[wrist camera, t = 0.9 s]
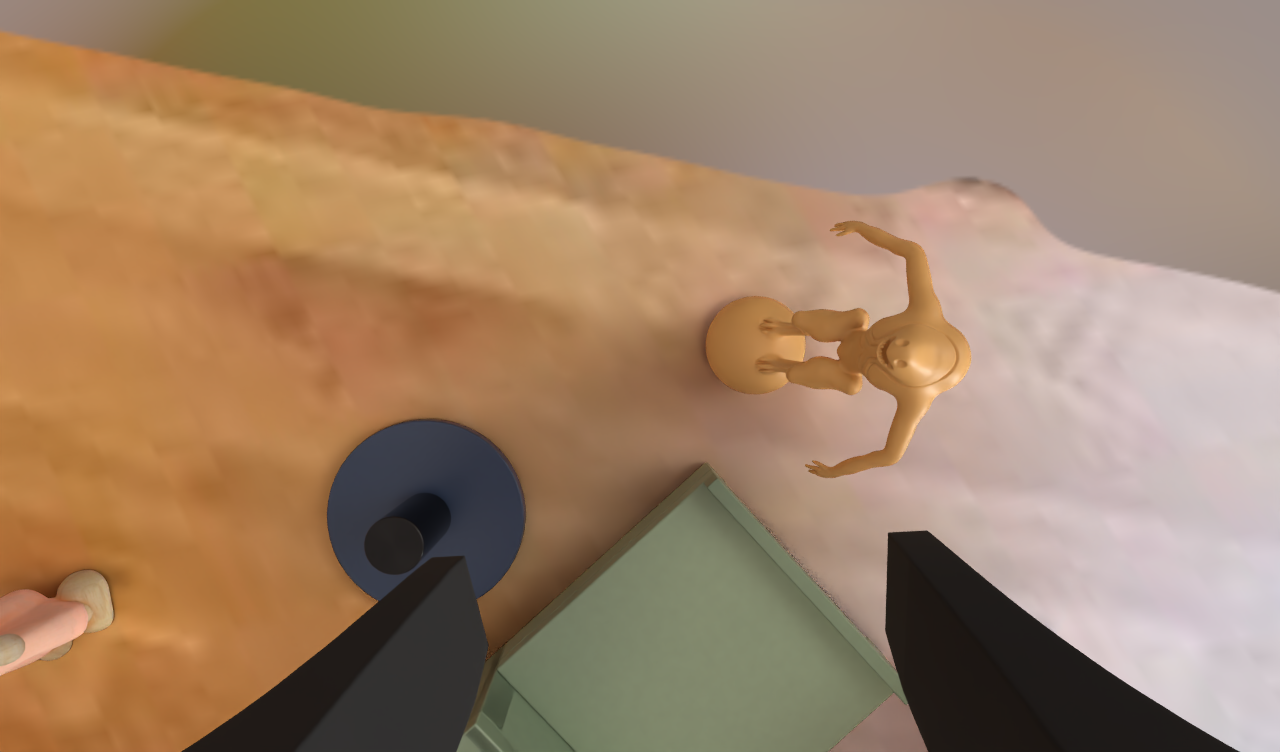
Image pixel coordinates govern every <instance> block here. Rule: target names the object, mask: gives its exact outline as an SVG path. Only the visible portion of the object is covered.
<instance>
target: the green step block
mask: <svg viewBox="0 0 1280 752" xmlns="http://www.w3.org/2000/svg"><path fill="white" fill-rule="evenodd" d="M893 693H895V694H896V695H897V696H898V697H899V698H900V699H901V701H902V702H903V703H904V704H906V705H907V704H908V702H907V700H906V697H905V695H904V692H903V689H902V686H901V683H900V679H899V676H898V673H897V671H896V670H895V669H894V667H893V666H892V665H891V664H890V663H889V661H888V660H887V659H886V658H885V657H884V655H883V654H882V653H881V652H880V651H879V650H878V649H877V648H876V647H875V645H874V644H873V643H872V642H871V641H870V640H869V639H868V638H867V637H865V636H864V635H863V634H862V633H861V632H860V631H859V630H858V628H857V627H856V626H855V625H854V624H853V623H852V622H851V621H850V620H849V619H848V618H847V616H846V615H845V614H844V613H843V612H842V611H841V610H840V609H839V608H838V607H837V605H836V604H835V603H834V602H833V601H832V600H831V599H830V598H829V597H828V596H827V595H826V593H825V592H824V591H823V590H822V589H821V588H820V587H819V586H818V585H817V584H816V583H815V581H814V580H813V579H812V578H811V577H810V576H809V575H808V574H807V573H806V572H805V570H804V569H803V568H802V567H801V566H800V565H799V564H798V563H797V562H796V561H795V560H794V558H793V557H792V556H791V555H790V554H789V553H788V552H787V551H786V550H785V549H784V548H783V546H782V545H781V544H780V543H779V542H778V541H777V540H776V539H775V538H774V537H773V536H772V534H771V533H770V532H769V531H768V530H767V529H766V528H765V527H764V526H763V525H762V523H761V522H760V521H759V520H758V519H757V518H756V517H755V516H754V515H753V514H752V513H751V511H750V510H749V509H748V508H747V507H746V506H745V505H744V504H743V503H742V502H741V501H740V499H739V498H738V497H737V496H736V495H735V494H734V493H733V492H732V491H731V490H730V489H729V487H728V486H727V484H726V483H725V482H724V480H723V479H722V478H721V477H720V476H719V475H718V474H717V473H716V472H715V470H714V469H713V468H712V467H711V466H710V465H709V464H708V463H707V462H706V463H704V464H703V465H702V466H701V467H700V468H699V469H698V470H696V471H695V472H694V473H693V474H692V475H691V476H690V477H689V478H688V479H687V480H685V481H684V482H683V483H682V484H681V485H680V486H679V487H678V488H677V489H676V490H674V491H673V492H672V493H671V494H670V495H669V496H668V497H667V498H666V499H664V500H663V501H662V502H661V503H660V504H659V505H658V506H657V507H656V508H655V509H653V510H652V511H651V512H650V513H649V514H648V515H647V516H646V517H645V518H644V519H642V520H641V521H640V522H639V523H638V524H637V525H636V526H635V527H634V528H633V529H631V530H630V531H629V532H628V533H627V534H626V535H625V536H624V537H623V538H621V539H620V540H619V541H618V542H617V543H616V544H615V545H614V546H613V547H612V548H610V549H609V550H608V551H607V552H606V553H605V554H604V555H603V556H602V557H601V558H599V559H598V560H597V561H596V562H595V563H594V564H593V565H592V566H591V567H590V568H588V569H587V570H586V571H585V572H584V573H583V574H582V575H581V576H580V577H579V578H577V579H576V580H575V581H574V582H573V583H572V584H571V585H570V586H569V587H567V588H566V589H565V590H564V591H563V592H562V593H561V594H560V595H559V596H558V597H556V598H555V599H554V600H553V601H552V602H551V603H550V604H549V605H548V606H547V607H545V608H544V609H543V610H542V611H541V612H540V613H539V614H538V615H537V616H536V617H534V618H533V619H532V620H531V621H530V622H529V623H528V624H527V625H526V626H524V627H523V628H522V629H521V630H520V631H519V632H518V633H517V634H516V635H515V636H513V637H512V638H511V639H510V640H509V641H508V642H507V644H505V645H503V646H502V647H501V648H500V649H499V650H498V651H497V652H496V653H495V654H494V655H492V656H491V657H490V658H489V659H488V660H487V661H486V662H485V663H484V668H483V672H482V677H481V680H480V684H479V688H478V692H477V696H476V700H475V703H474V706H473V709H472V712H471V714H470V717H469V720H468V723H467V725H466V728H465V731H464V733H463V736H462V739H461V741H460V744H459V747H458V749H457V752H828V751H829V750H830V749H832V748H833V747H834V746H835V745H836V744H837V743H838V742H839V741H840V740H842V739H843V738H844V737H845V736H846V735H847V734H848V733H849V732H851V731H852V730H853V729H854V728H855V727H856V726H857V725H858V724H859V723H861V722H862V721H863V720H864V719H865V718H866V717H867V716H868V715H869V714H871V713H872V712H873V711H874V710H875V709H876V708H877V707H878V706H880V705H881V704H882V703H883V702H884V701H885V700H886V699H887V698H888V697H890V696H891V695H892V694H893Z"/></svg>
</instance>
